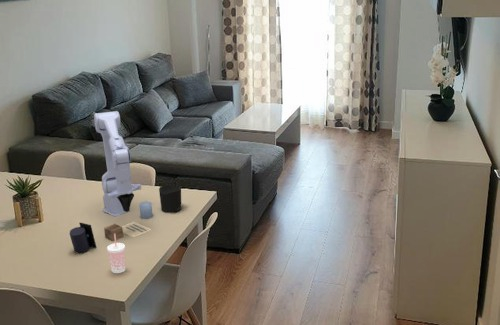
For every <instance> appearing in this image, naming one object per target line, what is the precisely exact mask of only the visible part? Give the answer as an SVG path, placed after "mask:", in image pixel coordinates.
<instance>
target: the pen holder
mask: <svg viewBox="0 0 500 325" xmlns="http://www.w3.org/2000/svg"><path fill="white" fill-rule="evenodd" d="M158 193H159V200H160V207H161V208H160V209H161V211H162V212H164V213H167V214H176V213H178V212H180V211H181V210H182V186H177V185H176V186H175V185H172V184H164V185H162V186H160V187H159V188H158Z"/></svg>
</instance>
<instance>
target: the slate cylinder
mask: <svg viewBox="0 0 500 325" xmlns="http://www.w3.org/2000/svg"><path fill="white" fill-rule="evenodd" d="M139 213H140V218H141V219H143V220H147V219H148V220H149V219H151V218H152V217H153V205H152V202H151V201H142V202H140V203H139Z"/></svg>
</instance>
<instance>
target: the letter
mask: <svg viewBox="0 0 500 325" xmlns="http://www.w3.org/2000/svg"><path fill="white" fill-rule="evenodd" d="M121 227H122V228H123V234H125V235H128V236H129V237H132V238H135V237H138V236H140V235H143V234H145V233H147V232H150V231H152V229H151V228H149V227H147V226H145V225H143V224H140V222H139V223H138V222H136V221H131V222H129V223H127V224H124V225H121Z"/></svg>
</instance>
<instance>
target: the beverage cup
mask: <svg viewBox="0 0 500 325" xmlns="http://www.w3.org/2000/svg"><path fill="white" fill-rule="evenodd" d="M114 239H115V241H114V243H111V244H109V245H107V247H106V250H107V253H108V257H109V262H110V267H111V268H110V269H111V272H112V273H114V274H120V273H123V272H125V271H126V258H125V257H126V255H125V254H126V253H125V251H126V250H125V249H126V245H125V244H124V243H122V242H117V240H116V235H115V233H114Z"/></svg>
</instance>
